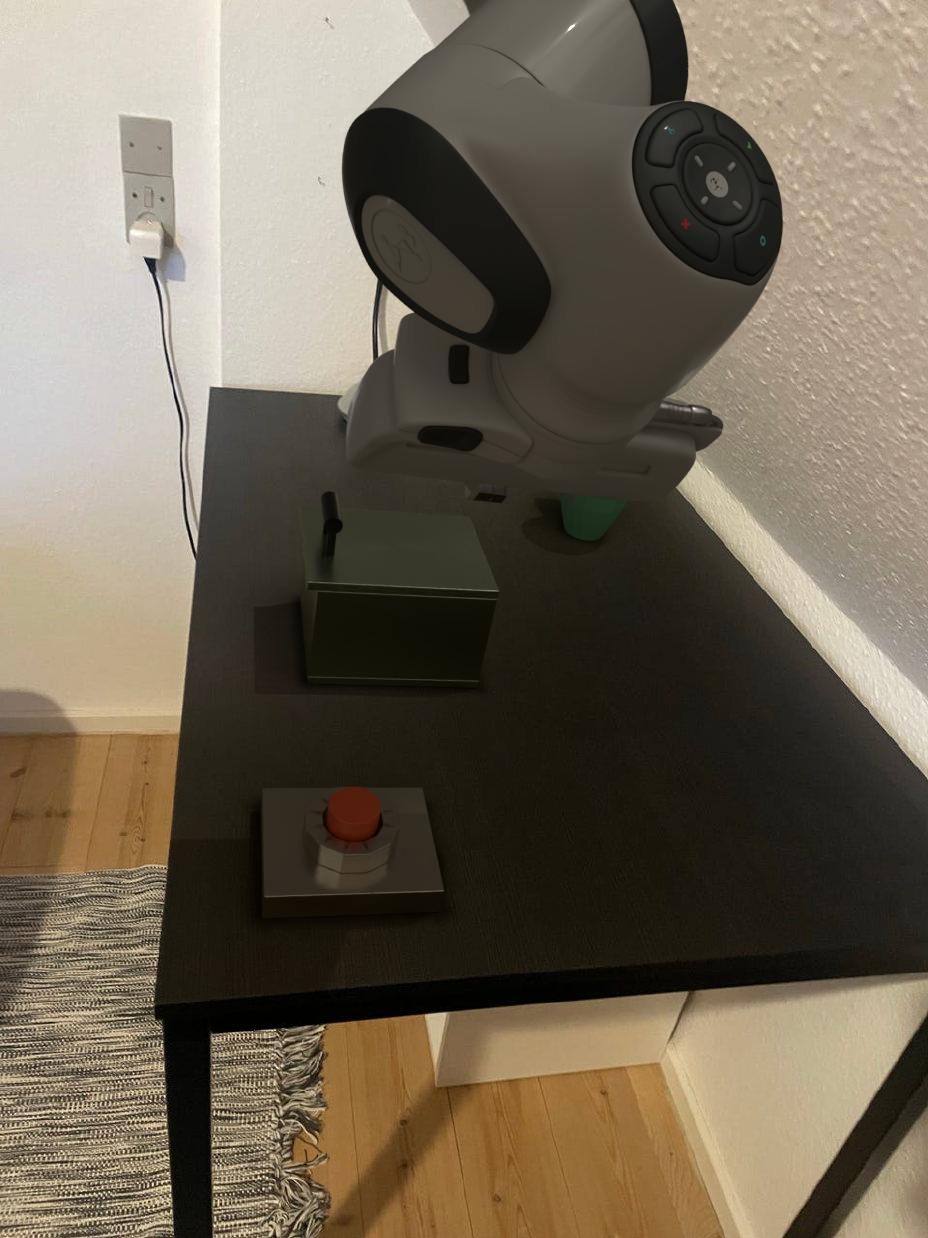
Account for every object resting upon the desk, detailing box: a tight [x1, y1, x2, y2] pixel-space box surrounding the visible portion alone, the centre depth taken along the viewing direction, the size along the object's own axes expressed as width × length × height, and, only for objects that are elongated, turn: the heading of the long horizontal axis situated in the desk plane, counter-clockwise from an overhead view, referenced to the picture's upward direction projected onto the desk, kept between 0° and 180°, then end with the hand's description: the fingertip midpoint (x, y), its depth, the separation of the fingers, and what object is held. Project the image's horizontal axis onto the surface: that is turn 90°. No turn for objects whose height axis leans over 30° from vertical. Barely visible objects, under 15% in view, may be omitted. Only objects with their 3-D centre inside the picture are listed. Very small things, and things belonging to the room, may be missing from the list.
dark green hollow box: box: [300, 568, 498, 689], centre depth 88 cm, size 16×14×10 cm
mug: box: [559, 493, 628, 542], centre depth 118 cm, size 15×10×10 cm
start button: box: [326, 786, 381, 842], centre depth 65 cm, size 4×4×2 cm
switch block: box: [260, 786, 445, 919], centre depth 67 cm, size 12×10×4 cm
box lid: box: [298, 490, 500, 600], centre depth 84 cm, size 16×14×5 cm
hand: (485, 491), depth 62 cm, fingers closed
